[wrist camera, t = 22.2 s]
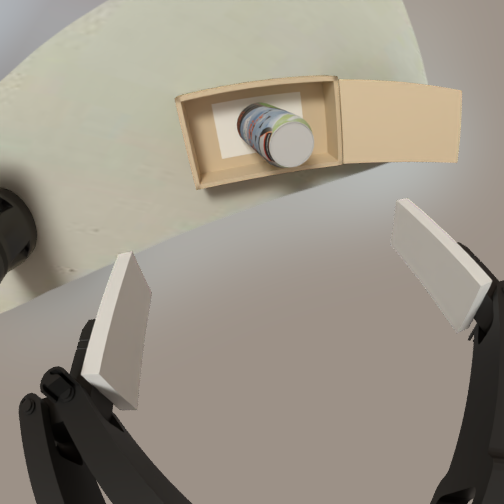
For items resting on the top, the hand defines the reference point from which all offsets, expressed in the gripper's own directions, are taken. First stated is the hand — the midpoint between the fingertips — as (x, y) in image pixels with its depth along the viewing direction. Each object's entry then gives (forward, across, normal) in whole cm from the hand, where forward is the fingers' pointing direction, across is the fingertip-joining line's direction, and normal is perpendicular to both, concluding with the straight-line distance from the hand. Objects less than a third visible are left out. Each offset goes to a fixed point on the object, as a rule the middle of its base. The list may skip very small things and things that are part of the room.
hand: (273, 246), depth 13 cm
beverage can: (+28, +4, 0) cm, 29 cm away
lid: (+22, +23, 0) cm, 32 cm away
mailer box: (+29, +4, 0) cm, 29 cm away
